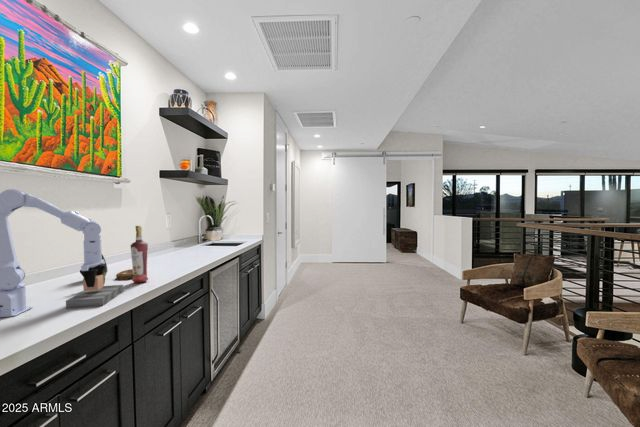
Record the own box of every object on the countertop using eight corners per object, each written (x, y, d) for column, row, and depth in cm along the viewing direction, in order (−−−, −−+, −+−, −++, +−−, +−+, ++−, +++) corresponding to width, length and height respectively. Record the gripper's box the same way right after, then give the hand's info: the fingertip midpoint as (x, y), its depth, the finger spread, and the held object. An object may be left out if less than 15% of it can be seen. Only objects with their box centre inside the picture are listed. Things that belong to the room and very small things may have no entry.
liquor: (152, 280, 154) (150, 225, 153) (140, 284, 147) (138, 226, 146) (140, 280, 156) (138, 225, 155) (128, 283, 149) (126, 226, 148)
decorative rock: (121, 276, 169) (114, 283, 155) (120, 268, 169) (113, 275, 154) (145, 273, 173) (139, 279, 159) (144, 265, 172) (138, 272, 158)
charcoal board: (103, 305, 116) (102, 297, 116) (66, 308, 113) (65, 300, 113) (123, 291, 135) (123, 284, 135) (92, 293, 132) (92, 286, 132)
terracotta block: (98, 289, 122) (97, 277, 122) (83, 291, 121) (83, 278, 120) (103, 286, 127) (103, 274, 127) (89, 287, 125) (89, 275, 125)
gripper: (95, 253, 117) (96, 289, 118) (111, 248, 131) (112, 280, 132) (74, 254, 115) (75, 290, 116) (92, 249, 130) (93, 281, 130)
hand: (94, 285), depth 124 cm, fingers closed on terracotta block, 5 cm apart
